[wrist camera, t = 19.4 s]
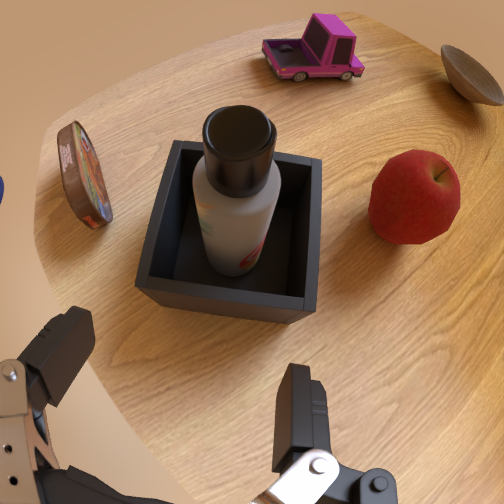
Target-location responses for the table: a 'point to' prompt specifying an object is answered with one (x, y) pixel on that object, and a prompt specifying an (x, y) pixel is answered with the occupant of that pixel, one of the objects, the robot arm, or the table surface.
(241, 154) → the lotion bottle
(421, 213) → the apple
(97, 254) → the table surface
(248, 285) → the bin
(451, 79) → the bowl
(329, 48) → the toy truck
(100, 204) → the tin
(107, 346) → the table surface
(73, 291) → the table surface
